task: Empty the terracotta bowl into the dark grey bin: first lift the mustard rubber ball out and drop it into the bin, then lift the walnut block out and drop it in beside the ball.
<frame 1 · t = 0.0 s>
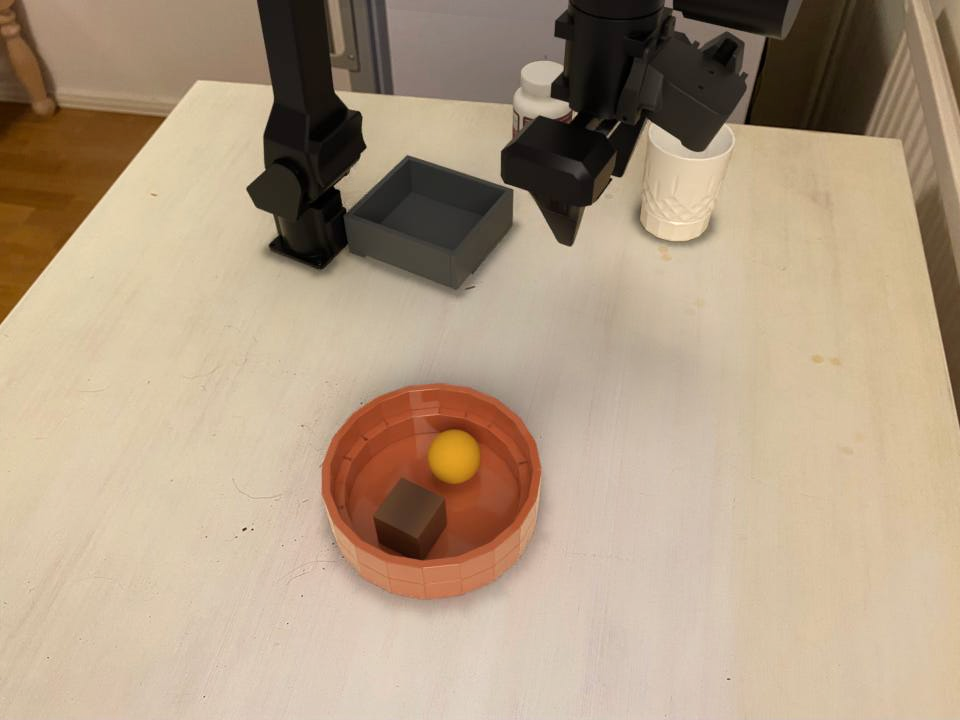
hand: (591, 208, 60), 15 cm above the table, tool pointing down, fingers open, 9 cm apart
toy block: (413, 533, 58), resting on bowl
bin: (432, 238, 80), on the table
toy ball: (455, 471, 62), resting on bowl
bowl: (434, 505, 60), on the table
white cup: (672, 222, 82), on the table
pill bottle: (539, 167, 89), on the table
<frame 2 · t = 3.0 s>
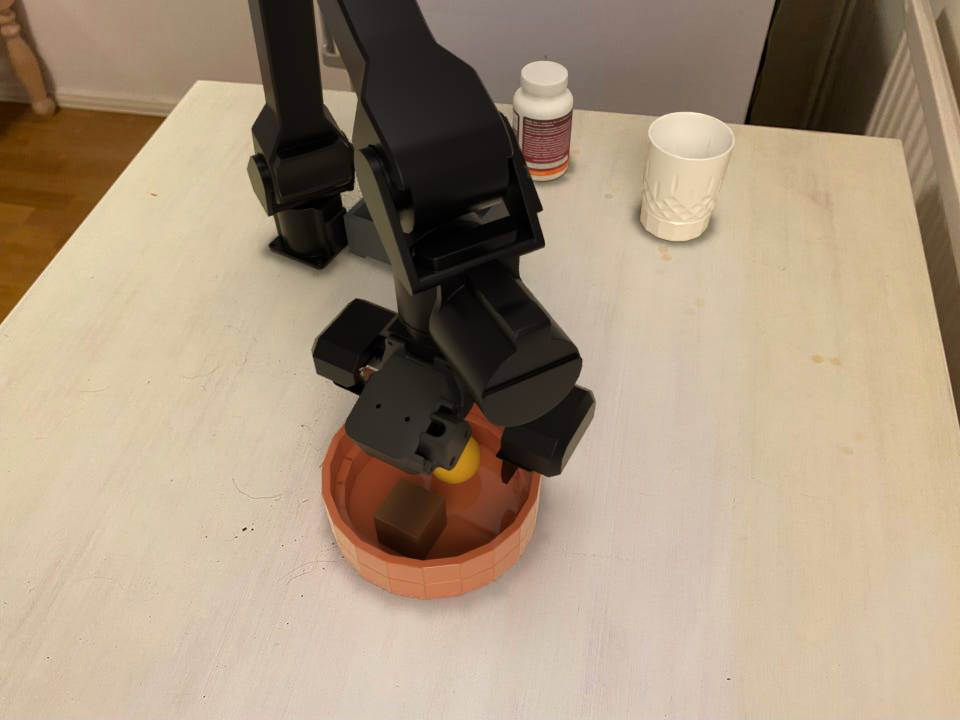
hand: (453, 454, 60), 3 cm above the table, tool pointing down, fingers open, 9 cm apart
nothing on the table moved.
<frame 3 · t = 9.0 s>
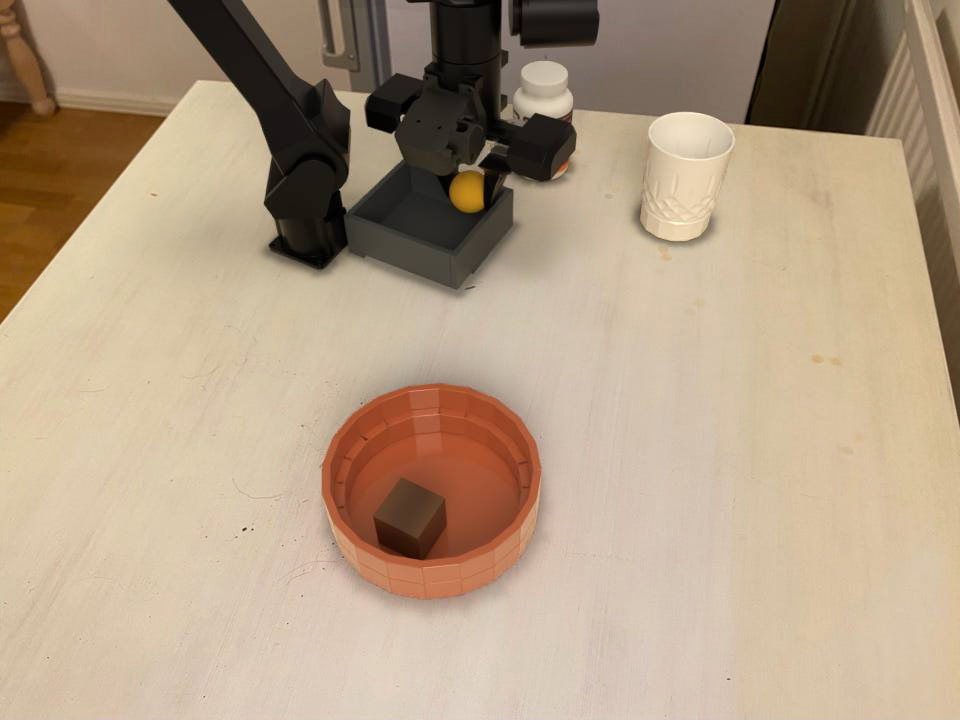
hand: (469, 202, 78), 4 cm above the table, tool pointing down, fingers closed on toy ball, 4 cm apart
toy ball: (470, 208, 79), point 3 cm above the table, touching gripper
everything else where it was.
when the fingers open (7 cm above the table, at t = 21.0 s): toy ball drops 5 cm, resting on bin.
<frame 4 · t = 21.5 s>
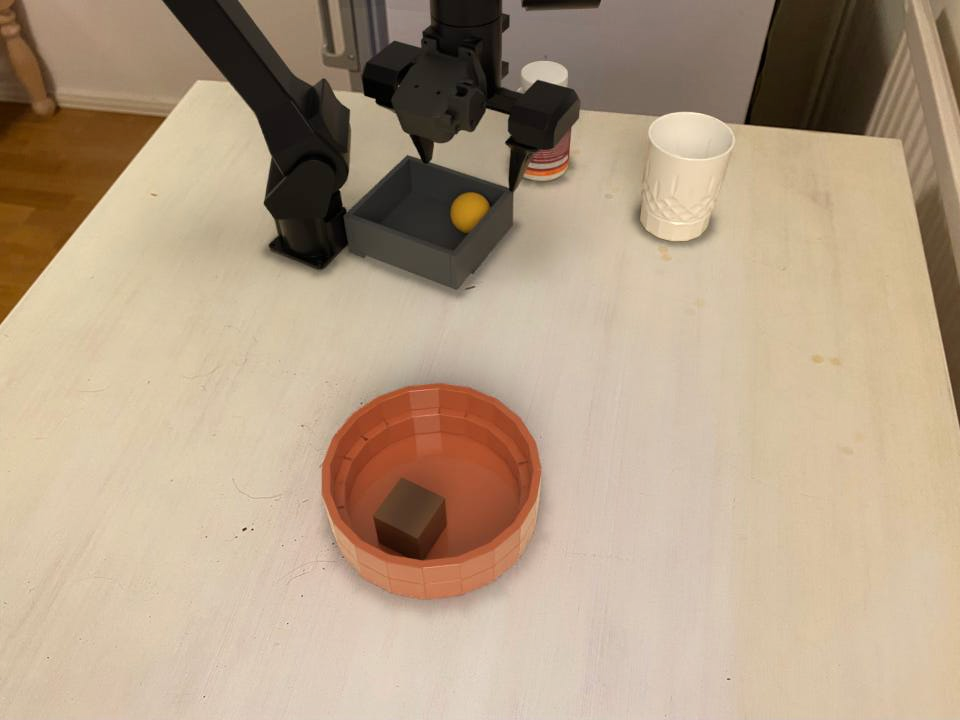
hand: (469, 175, 76), 7 cm above the table, tool pointing down, fingers open, 9 cm apart
toy ball: (471, 229, 81), resting on bin
everything else where it was.
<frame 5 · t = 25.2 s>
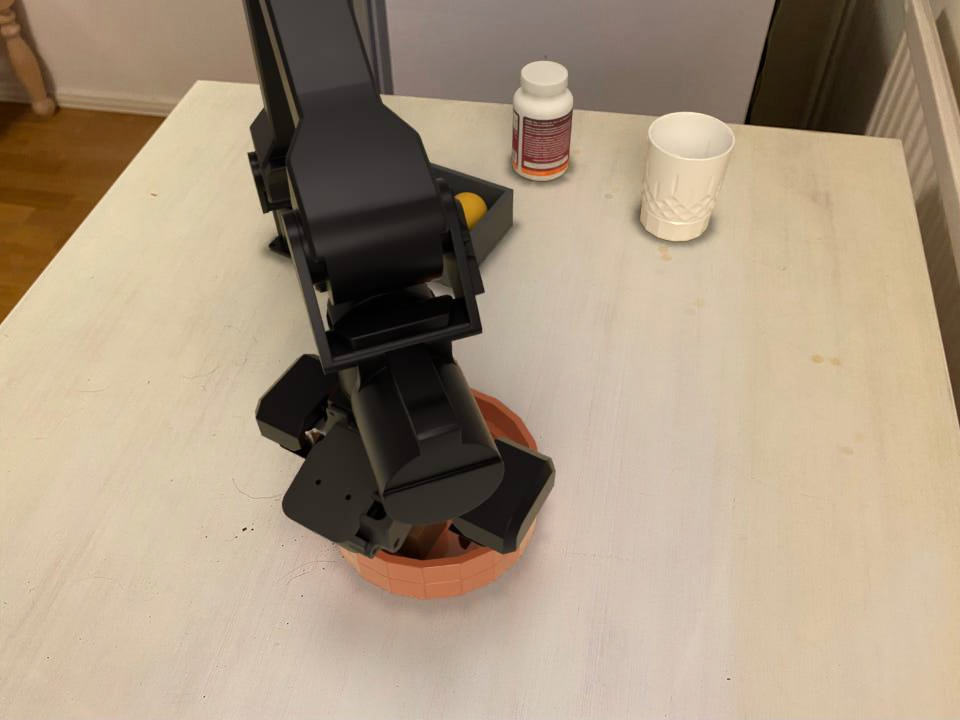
hand: (411, 515, 57), 3 cm above the table, tool pointing down, fingers open, 9 cm apart
toy ball: (471, 228, 81), point 1 cm above the table, tilted 11°, touching bin
everything else where it was.
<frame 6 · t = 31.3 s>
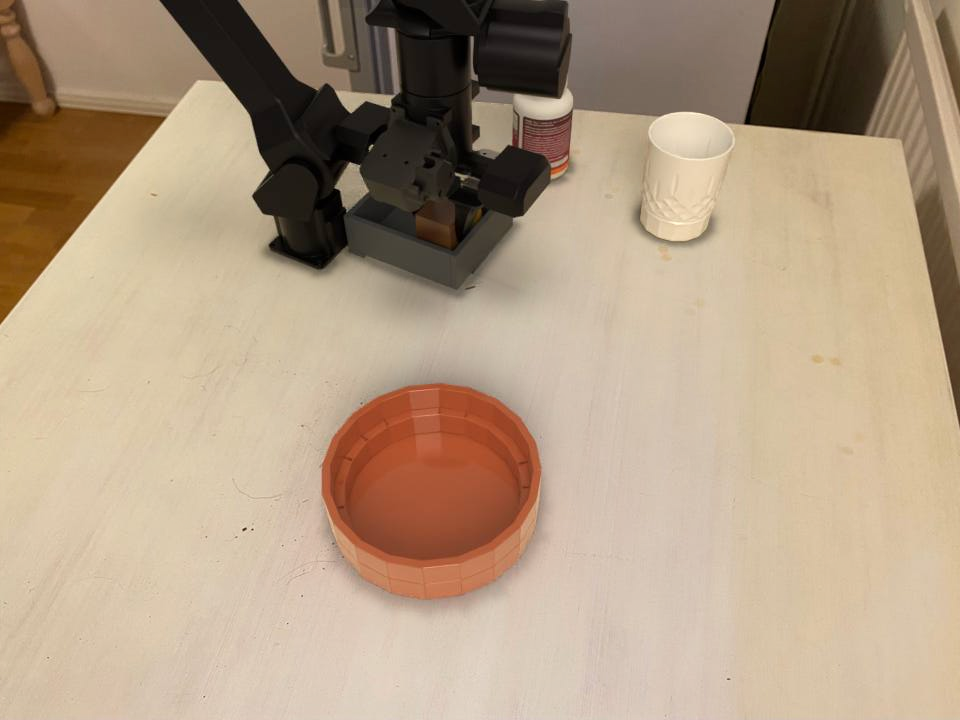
hand: (443, 233, 75), 4 cm above the table, tool pointing down, fingers closed on toy block, 3 cm apart
toy block: (443, 240, 76), point 3 cm above the table, touching gripper
toy ball: (471, 227, 80), point 1 cm above the table, tilted 28°, touching bin
everything else where it was.
when the fingers open (7 cm above the table, at t = 42.2 s): toy block drops 6 cm, resting on bin.
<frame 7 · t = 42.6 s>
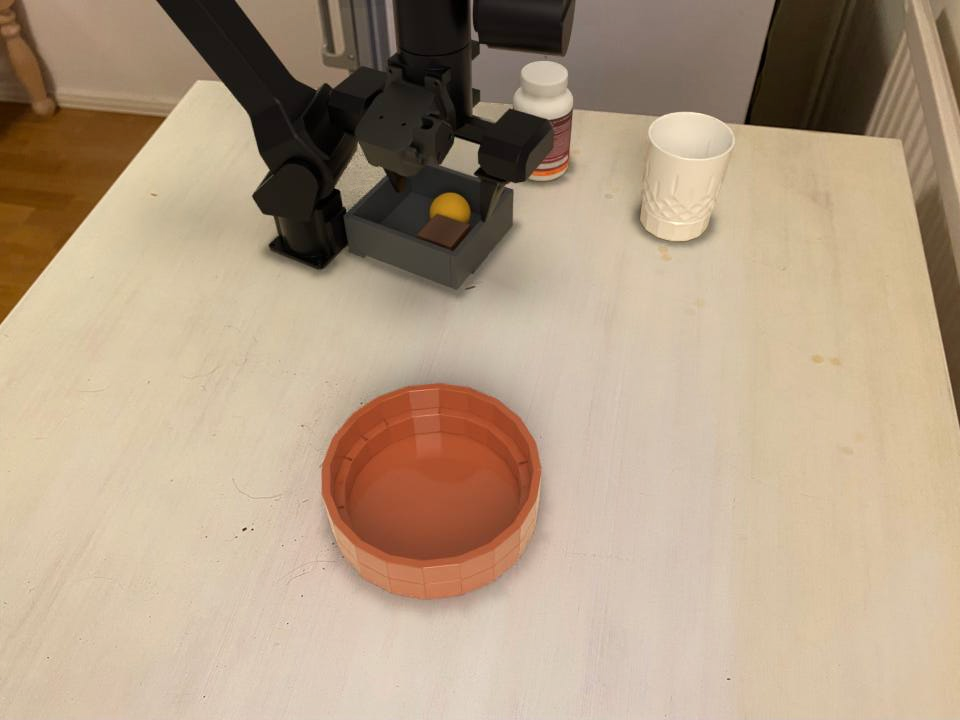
hand: (442, 204, 73), 7 cm above the table, tool pointing down, fingers open, 8 cm apart
toy block: (445, 259, 78), resting on bin
toy ball: (467, 221, 80), point 1 cm above the table, tilted 59°, touching bin
everything else where it was.
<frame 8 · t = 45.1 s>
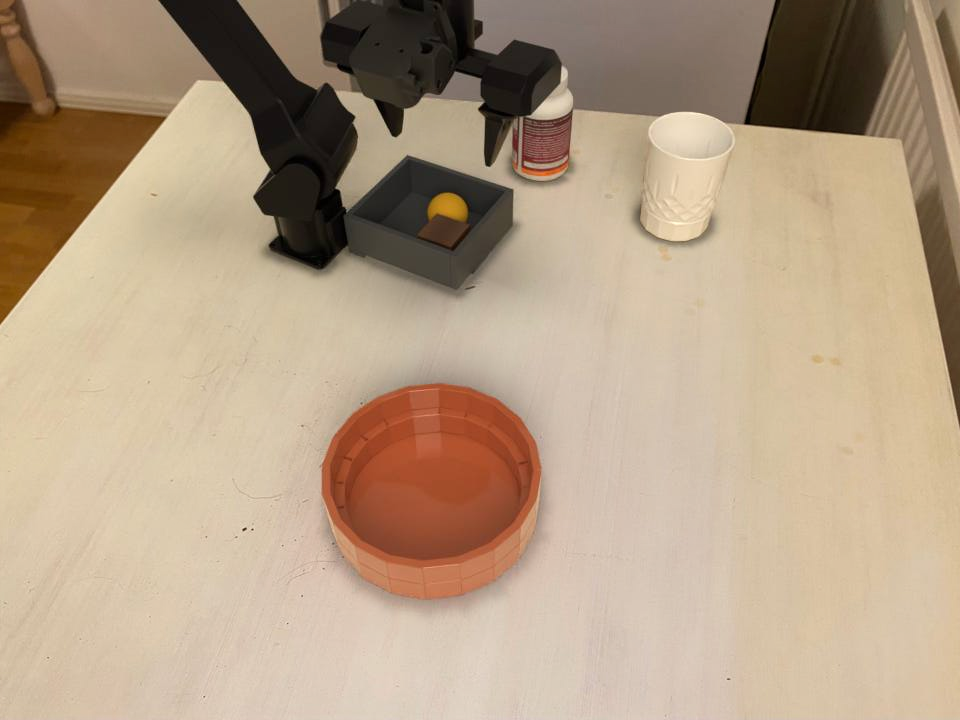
hand: (442, 149, 69), 12 cm above the table, tool pointing down, fingers open, 9 cm apart
toy ball: (466, 219, 80), point 2 cm above the table, tilted 66°, touching bin
everything else where it was.
at the end: toy ball inside the target area in the bin (3.5 cm from its centre), point 1.7 cm above the bin's base; toy block inside the target area in the bin (3.9 cm from its centre), point 0.5 cm above the bin's base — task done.
